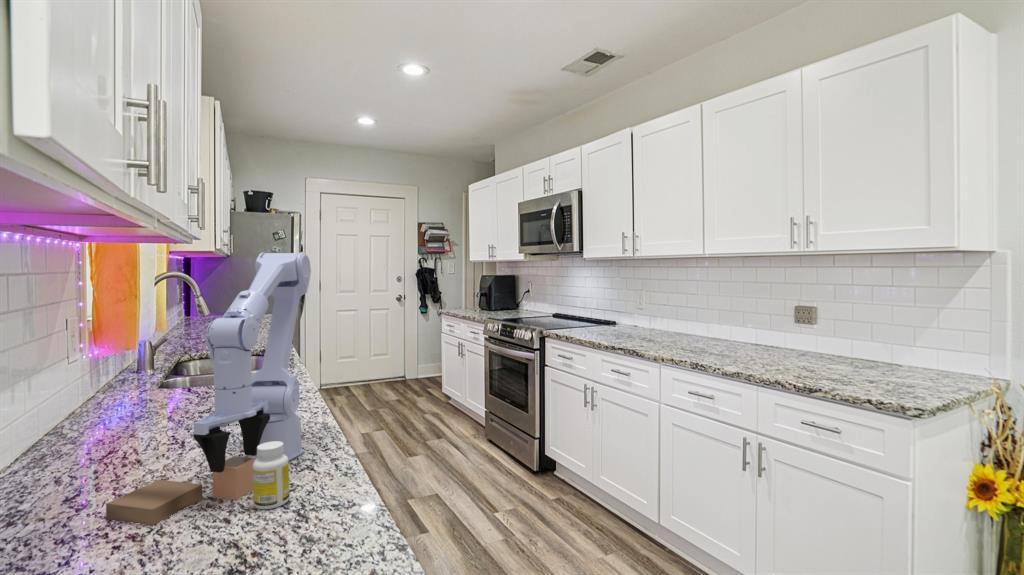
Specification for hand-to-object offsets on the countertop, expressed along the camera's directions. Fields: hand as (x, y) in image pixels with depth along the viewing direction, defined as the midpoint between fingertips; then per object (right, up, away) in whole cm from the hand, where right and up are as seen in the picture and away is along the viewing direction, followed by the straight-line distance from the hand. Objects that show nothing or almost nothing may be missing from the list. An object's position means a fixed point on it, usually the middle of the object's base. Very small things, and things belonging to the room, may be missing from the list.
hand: (234, 462), depth 86 cm
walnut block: (-10, -6, -6) cm, 13 cm away
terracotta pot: (0, -5, 0) cm, 5 cm away
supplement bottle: (+8, -6, -4) cm, 11 cm away
